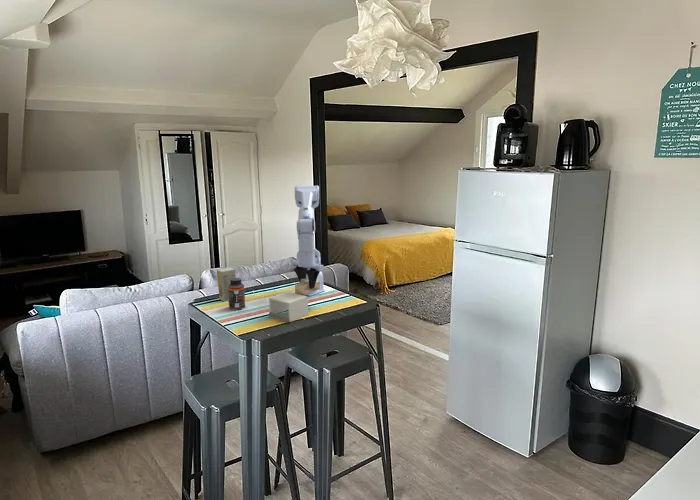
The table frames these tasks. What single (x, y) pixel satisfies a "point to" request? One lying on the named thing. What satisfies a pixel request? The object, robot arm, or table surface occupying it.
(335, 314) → the table surface
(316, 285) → the beige toy brick
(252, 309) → the table surface
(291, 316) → the open shelf unit
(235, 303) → the supplement bottle
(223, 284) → the skincare box
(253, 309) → the table surface
